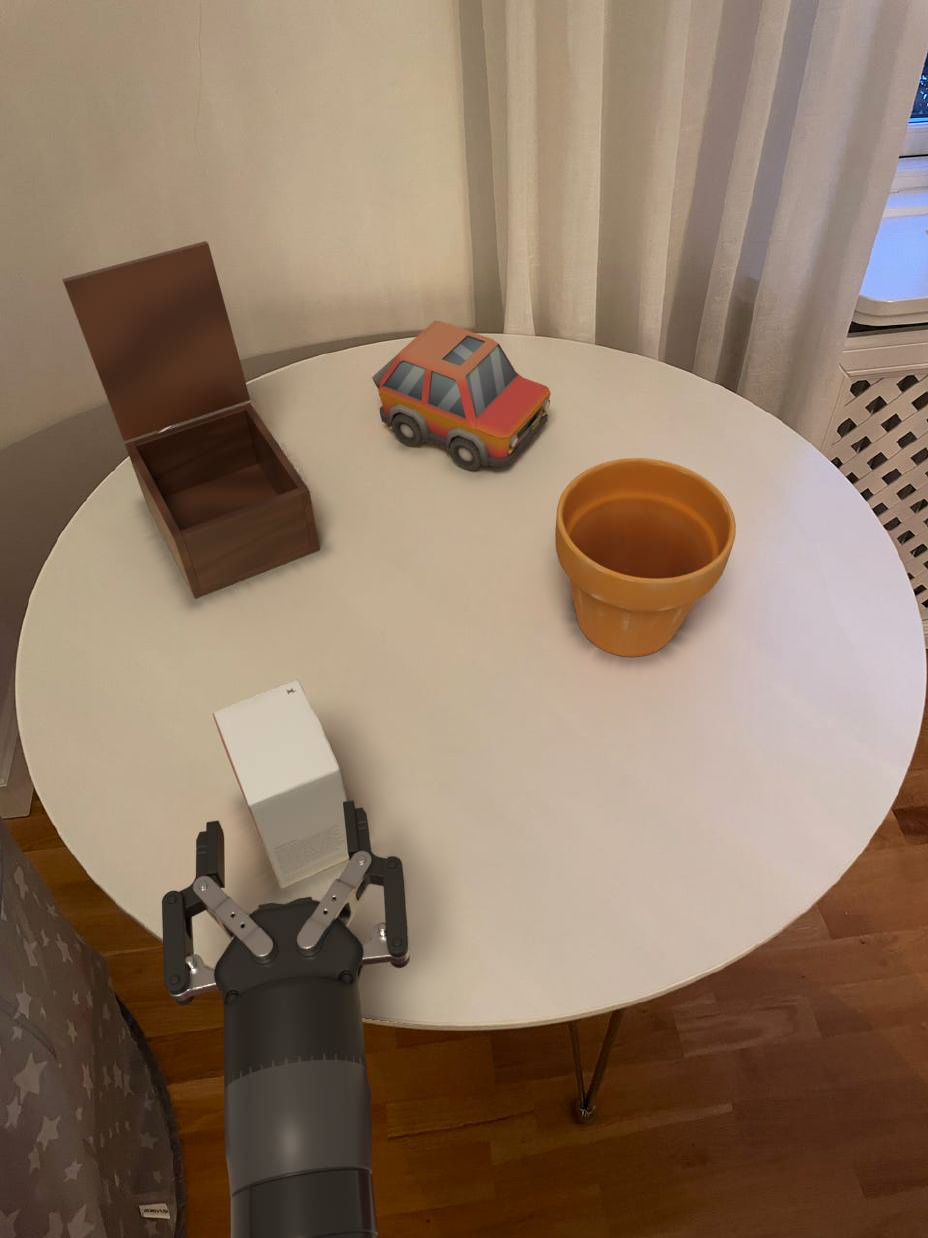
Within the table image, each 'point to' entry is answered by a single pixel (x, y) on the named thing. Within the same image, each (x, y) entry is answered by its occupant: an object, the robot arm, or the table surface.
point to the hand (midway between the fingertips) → (282, 816)
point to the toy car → (461, 397)
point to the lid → (159, 338)
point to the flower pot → (640, 549)
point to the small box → (287, 780)
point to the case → (224, 498)
